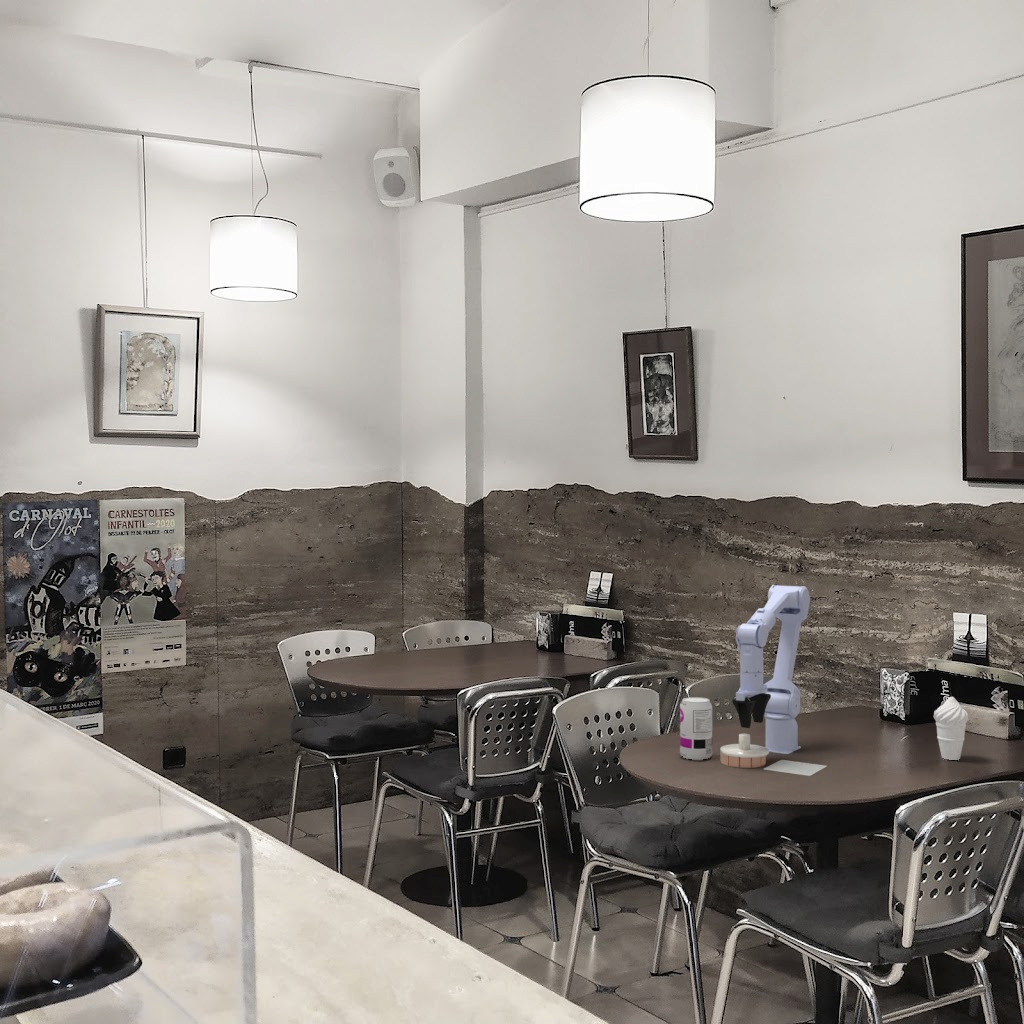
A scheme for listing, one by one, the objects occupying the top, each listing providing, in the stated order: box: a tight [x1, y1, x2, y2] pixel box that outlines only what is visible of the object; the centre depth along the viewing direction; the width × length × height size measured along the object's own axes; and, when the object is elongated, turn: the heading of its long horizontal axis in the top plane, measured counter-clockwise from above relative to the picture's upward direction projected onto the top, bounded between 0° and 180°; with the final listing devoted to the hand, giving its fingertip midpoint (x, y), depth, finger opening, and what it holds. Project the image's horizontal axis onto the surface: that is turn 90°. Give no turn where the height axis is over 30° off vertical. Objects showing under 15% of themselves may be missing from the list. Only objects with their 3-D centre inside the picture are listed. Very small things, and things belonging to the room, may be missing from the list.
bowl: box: [719, 752, 767, 769], centre depth 293 cm, size 11×11×3 cm
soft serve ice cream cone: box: [933, 696, 969, 761], centre depth 296 cm, size 8×8×16 cm
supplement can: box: [679, 696, 713, 761], centre depth 300 cm, size 8×8×15 cm
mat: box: [763, 759, 828, 777], centre depth 287 cm, size 12×12×1 cm
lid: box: [719, 733, 770, 758], centre depth 292 cm, size 12×12×4 cm
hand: (751, 724), depth 293 cm, fingers open, 7 cm apart
